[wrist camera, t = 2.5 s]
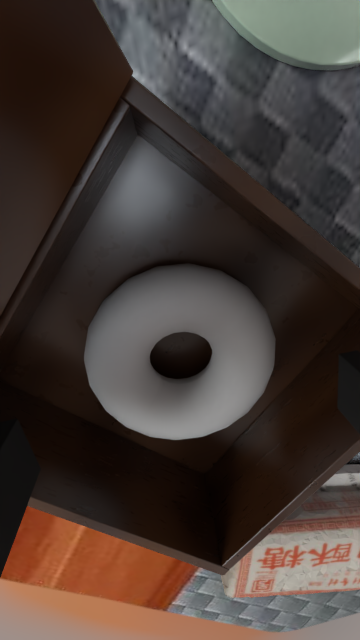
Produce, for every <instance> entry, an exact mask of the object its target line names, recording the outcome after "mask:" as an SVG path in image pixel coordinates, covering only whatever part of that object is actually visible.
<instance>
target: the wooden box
mask: <svg viewBox="0 0 360 640" xmlns="http://www.w3.org/2000/svg"><path fill="white" fill-rule="evenodd" d="M186 263H190V264H194V265H199V266H203V267H208V268H212V269H217V270H220V271H222V272H224V273H226V274H227V275H229V276H231V277H232V278H234V279H236V280H237V281H239V282H241V283H242V284H244V285H245V286H247V287H248V288H249V289H250V290H251V292H252V293H253V294H254V295H255V297H256V298H257V299H258V300H259V302H260V303H261V304H262V305H263V307H264V308H265V309H266V312H267V314H268V317H269V320H270V323H271V326H272V329H273V333H274V336H275V339H276V341H275V362H274V368H273V371H272V374H271V376H270V379H269V381H268V384H267V386H266V389H265V391H264V393H263V394H262V396H261V397H260V398H259V399H258V401H257V402H256V403H255V404H254V405H253V407H252V408H251V409H250V410H249V412H248V413H246V414H245V415H244V416H242V417H241V418H239V419H238V420H237V421H235V422H234V423H232V424H231V425H229V426H228V427H227V428H224V429H221V430H219V431H216V432H214V433H211V434H208V435H206V436H203V437H197V438H189V439H181V440H171V439H163V438H155V437H149V436H147V435H144V434H142V433H139V432H137V431H134V430H132V429H129V428H127V427H125V426H124V425H123V424H122V423H120V422H119V421H118V420H117V419H115V418H114V417H113V416H112V415H110V414H109V413H108V412H107V411H106V410H105V409H104V407H103V406H102V404H101V403H100V401H99V400H98V398H97V396H96V395H95V393H94V392H93V390H92V389H91V387H90V385H89V381H88V376H87V372H86V367H85V363H84V352H85V346H86V339H87V332H88V327H89V325H90V323H91V321H92V320H93V318H94V316H95V314H96V312H97V311H98V309H99V307H100V305H101V303H102V302H103V301H104V300H105V299H106V298H107V297H108V296H109V295H110V294H111V293H113V292H114V291H115V290H116V289H117V288H118V287H119V286H120V285H122V284H123V283H124V282H125V281H126V280H127V279H129V278H131V277H133V276H136V275H138V274H140V273H143V272H145V271H147V270H150V269H152V268H154V267H157V266H166V265H176V264H186ZM355 350H358V351H359V352H360V268H359V267H358V266H357V265H356V264H355V263H353V262H352V261H351V260H350V259H349V258H348V257H346V256H345V255H344V254H343V253H342V252H340V251H339V250H338V249H337V248H336V247H334V246H333V245H332V244H331V243H330V242H329V241H327V240H326V239H325V238H324V237H323V236H321V235H320V234H319V233H318V232H317V231H315V230H314V229H313V228H312V227H311V226H310V225H308V224H307V223H306V222H305V221H304V220H302V219H301V218H300V217H299V216H298V215H296V214H295V213H294V212H293V211H292V210H291V209H289V208H288V207H287V206H286V205H285V204H283V203H282V202H281V201H280V200H279V199H277V198H276V197H275V196H274V195H273V194H272V193H270V192H269V191H268V190H267V189H266V188H264V187H263V186H262V185H261V184H260V183H258V182H257V181H256V180H255V179H254V178H253V177H251V176H250V175H249V174H248V173H247V172H245V171H244V170H243V169H242V168H241V167H239V166H238V165H237V164H236V163H235V162H234V161H232V160H231V159H230V158H229V157H228V156H226V155H225V154H224V153H223V152H222V151H220V150H219V149H218V148H217V147H216V146H215V145H213V144H212V143H211V142H210V141H209V140H207V139H206V138H205V137H204V136H203V135H201V134H200V133H199V132H198V131H197V130H195V129H194V128H193V127H192V126H191V125H190V124H188V123H187V122H186V121H185V120H184V119H182V118H181V117H180V116H179V115H178V114H176V113H175V112H174V111H173V110H172V109H171V108H169V107H168V106H167V105H166V104H165V103H163V102H162V101H161V100H160V99H159V98H157V97H156V96H155V95H154V94H153V93H152V92H150V91H149V90H148V89H147V88H146V87H144V86H143V85H142V84H141V83H140V82H138V81H137V80H136V79H135V78H134V77H133V76H131V77H130V79H129V81H128V83H127V85H126V87H125V88H124V90H123V92H122V94H121V96H120V98H119V99H118V101H117V103H116V105H115V107H114V109H113V110H112V112H111V114H110V116H109V118H108V120H107V121H106V123H105V125H104V127H103V129H102V131H101V132H100V134H99V136H98V138H97V140H96V142H95V143H94V145H93V147H92V149H91V151H90V153H89V154H88V156H87V158H86V160H85V162H84V164H83V165H82V167H81V169H80V171H79V173H78V175H77V176H76V178H75V180H74V182H73V184H72V186H71V187H70V189H69V191H68V193H67V195H66V197H65V198H64V200H63V202H62V204H61V206H60V208H59V209H58V211H57V213H56V215H55V217H54V219H53V220H52V222H51V224H50V226H49V228H48V229H47V231H46V233H45V235H44V237H43V239H42V240H41V242H40V244H39V246H38V248H37V250H36V251H35V253H34V255H33V257H32V259H31V261H30V262H29V264H28V266H27V268H26V270H25V272H24V273H23V275H22V277H21V279H20V281H19V283H18V284H17V286H16V288H15V290H14V292H13V294H12V295H11V297H10V299H9V301H8V303H7V305H6V306H5V308H4V310H3V312H2V314H1V316H0V422H2V421H7V420H12V419H18V421H19V423H20V425H21V427H22V429H23V431H24V434H25V436H26V438H27V440H28V442H29V444H30V446H31V449H32V451H33V453H34V455H35V457H36V459H37V461H38V464H39V466H40V468H41V470H40V473H39V475H38V478H37V481H36V483H35V486H34V489H33V491H32V494H31V497H30V499H29V502H28V505H27V506H29V507H32V508H35V509H38V510H41V511H43V512H46V513H49V514H52V515H55V516H57V517H60V518H63V519H66V520H69V521H72V522H74V523H77V524H80V525H83V526H86V527H88V528H91V529H94V530H97V531H100V532H102V533H105V534H108V535H111V536H114V537H116V538H119V539H122V540H125V541H128V542H130V543H133V544H136V545H139V546H142V547H144V548H147V549H150V550H153V551H156V552H158V553H161V554H164V555H167V556H170V557H173V558H175V559H178V560H181V561H184V562H187V563H189V564H192V565H195V566H198V567H201V568H203V569H206V570H209V571H212V572H215V573H217V574H220V575H225V574H226V573H227V572H228V571H229V570H230V569H231V568H232V567H233V566H234V565H235V564H236V563H238V562H239V561H240V560H241V559H242V558H243V557H244V556H245V555H246V554H247V553H249V552H250V551H251V550H252V549H253V548H254V547H255V546H256V545H257V544H258V543H260V542H261V541H262V540H263V539H264V538H265V537H266V536H267V535H268V534H270V533H271V532H272V531H273V530H274V529H275V528H276V527H277V526H278V525H279V524H281V523H282V522H283V521H284V520H285V519H286V518H287V517H288V516H289V515H290V514H292V513H293V512H294V511H295V510H296V509H297V508H298V507H299V506H300V505H301V504H303V503H304V502H305V501H306V500H307V499H308V498H309V497H310V496H311V495H312V494H314V493H315V492H316V491H317V490H318V489H319V488H320V487H321V486H322V485H323V484H325V483H326V482H327V481H328V480H329V479H330V478H331V477H332V476H333V475H334V474H336V473H337V472H338V471H339V470H340V469H341V468H342V467H343V466H344V465H345V464H347V463H348V462H349V461H350V460H351V459H352V458H353V457H354V456H355V455H356V454H358V453H359V452H360V434H359V433H358V432H357V430H356V429H355V428H354V427H353V426H352V425H351V423H350V422H349V421H348V420H347V419H346V418H345V416H344V415H343V414H342V413H341V412H340V411H339V409H338V408H337V402H338V363H339V354H340V353H345V352H350V351H355ZM211 356H212V349H211V346H210V344H209V342H208V341H207V340H206V339H205V338H203V337H201V336H199V335H198V334H195V333H190V332H177V333H173V334H170V335H168V336H165V337H163V338H162V339H161V340H160V341H159V342H157V343H156V344H155V346H154V347H153V349H152V350H151V353H150V363H151V365H152V367H153V369H154V370H156V371H157V372H158V373H159V374H160V375H162V376H164V377H167V378H173V379H183V378H189V377H191V376H194V375H196V374H198V373H200V372H201V371H202V370H203V369H205V368H206V366H207V365H208V364H209V362H210V359H211Z"/></svg>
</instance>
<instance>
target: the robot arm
mask: <svg viewBox="0 0 360 640" xmlns="http://www.w3.org/2000/svg"><path fill="white" fill-rule="evenodd" d="M337 408H338V409H339V411H340V412H341V413H342V414H343V415H344V416H345V418H346V419H347V420H348V421H349V422H350V423H351V425H352V426H353V427H354V428H355V429H356V430H357V432H358V433H359V434H360V352H359V351H358V350H355V351H350V352H345V353H340V354H339V363H338V402H337ZM40 470H41V468H40V466H39V464H38V461H37V459H36V457H35V455H34V453H33V451H32V449H31V446H30V444H29V442H28V440H27V438H26V436H25V434H24V431H23V429H22V427H21V425H20V423H19V421H18V419H12V420H7V421H2V422H0V577H1V574H2V571H3V569H4V566H5V563H6V561H7V558H8V555H9V553H10V550H11V547H12V545H13V542H14V539H15V537H16V534H17V531H18V529H19V526H20V523H21V521H22V518H23V515H24V513H25V510H26V507H27V505H28V502H29V499H30V497H31V494H32V491H33V489H34V486H35V483H36V481H37V478H38V475H39V473H40Z"/></svg>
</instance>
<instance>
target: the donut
mask: <svg viewBox="0 0 360 640" xmlns="http://www.w3.org/2000/svg"><path fill="white" fill-rule="evenodd" d="M177 332H190V333H195V334H198V335H199V336H201V337H203V338H205V339H206V340H207V341H208V342H209V344H210V346H211V349H212V356H211V359H210V362H209V364H208V365H207V366H206V368H205V369H203V370H202V371H201V372H200V373H198V374H196V375H194V376H191V377H189V378H183V379H173V378H167V377H164V376H162V375H160V374H159V373H158V372H157V371H156V370H154V369H153V367H152V365H151V363H150V353H151V350H152V349H153V347H154V346H155V344H156V343H157V342H159V341H160V340H161V339H162V338H163V337H165V336H168V335H170V334H173V333H177ZM275 341H276V339H275V336H274V333H273V329H272V326H271V323H270V320H269V317H268V314H267V312H266V309H265V308H264V307H263V305H262V304H261V303H260V302H259V300H258V299H257V298H256V297H255V295H254V294H253V293H252V292H251V290H250V289H249V288H248V287H247V286H245V285H244V284H242V283H241V282H239V281H237V280H236V279H234V278H232V277H231V276H229V275H227V274H226V273H224V272H222V271H220V270H217V269H212V268H208V267H203V266H199V265H194V264H190V263H186V264H176V265H166V266H157V267H154V268H152V269H150V270H147V271H145V272H143V273H140V274H138V275H136V276H133V277H131V278H129V279H127V280H126V281H125V282H124V283H123V284H122V285H120V286H119V287H118V288H117V289H116V290H115V291H114V292H113V293H111V294H110V295H109V296H108V297H107V298H106V299H105V300H104V301H103V302H102V303H101V305H100V307H99V309H98V311H97V312H96V314H95V316H94V318H93V320H92V321H91V323H90V325H89V327H88V332H87V339H86V346H85V352H84V363H85V367H86V372H87V376H88V381H89V385H90V387H91V389H92V390H93V392H94V393H95V395H96V396H97V398H98V400H99V401H100V403H101V404H102V406H103V407H104V409H105V410H106V411H107V412H108V413H109V414H110V415H112V416H113V417H114V418H115V419H117V420H118V421H119V422H120V423H122V424H123V425H124V426H125V427H127V428H129V429H132V430H134V431H137V432H139V433H142V434H144V435H147V436H149V437H155V438H163V439H171V440H181V439H189V438H197V437H203V436H206V435H208V434H211V433H214V432H216V431H219V430H221V429H224V428H227V427H228V426H229V425H231V424H232V423H234V422H235V421H237V420H238V419H239V418H241V417H242V416H244V415H245V414H246V413H248V412H249V410H250V409H251V408H252V407H253V405H254V404H255V403H256V402H257V401H258V399H259V398H260V397H261V396H262V394H263V393H264V391H265V389H266V386H267V384H268V381H269V379H270V376H271V374H272V371H273V368H274V362H275Z"/></svg>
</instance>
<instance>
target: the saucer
mask: <svg viewBox="0 0 360 640" xmlns="http://www.w3.org/2000/svg"><path fill="white" fill-rule="evenodd" d="M212 1H213V3H214V4H215V6H216V7H217V8H218V10H219V11H220V13H221V14H222V15H223V17H224V18H225V19H226V20H227V21H228V22H229V23H230V24H231V26H232V27H233V28H234V29H235V30H236V31H237V32H238V33H239V34H240V35H241V36H242V37H244V38H245V39H246V40H247V41H248V42H250V43H251V44H252V45H253V46H255V47H256V48H257V49H259V50H261V51H262V52H264V53H266V54H267V55H269V56H271V57H273V58H274V59H277V60H279V61H282V62H284V63H287V64H290V65H292V66H296V67H301V68H306V69H311V70H340V69H347V68H354V67H357V66H360V0H212Z"/></svg>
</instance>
